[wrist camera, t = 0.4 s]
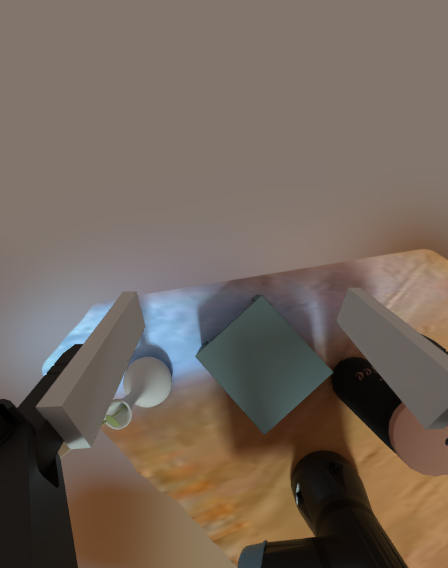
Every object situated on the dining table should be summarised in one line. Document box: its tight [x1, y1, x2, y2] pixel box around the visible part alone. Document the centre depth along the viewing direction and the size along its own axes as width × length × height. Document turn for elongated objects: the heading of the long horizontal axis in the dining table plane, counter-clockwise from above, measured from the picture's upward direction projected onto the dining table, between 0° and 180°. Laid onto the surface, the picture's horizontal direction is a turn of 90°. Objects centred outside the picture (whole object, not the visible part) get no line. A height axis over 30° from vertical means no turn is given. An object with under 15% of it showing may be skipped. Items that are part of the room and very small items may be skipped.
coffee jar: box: [332, 357, 448, 476], centre depth 36 cm, size 11×11×18 cm
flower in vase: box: [58, 357, 172, 459], centre depth 34 cm, size 13×11×25 cm
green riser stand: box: [195, 295, 333, 435], centre depth 42 cm, size 20×18×8 cm
